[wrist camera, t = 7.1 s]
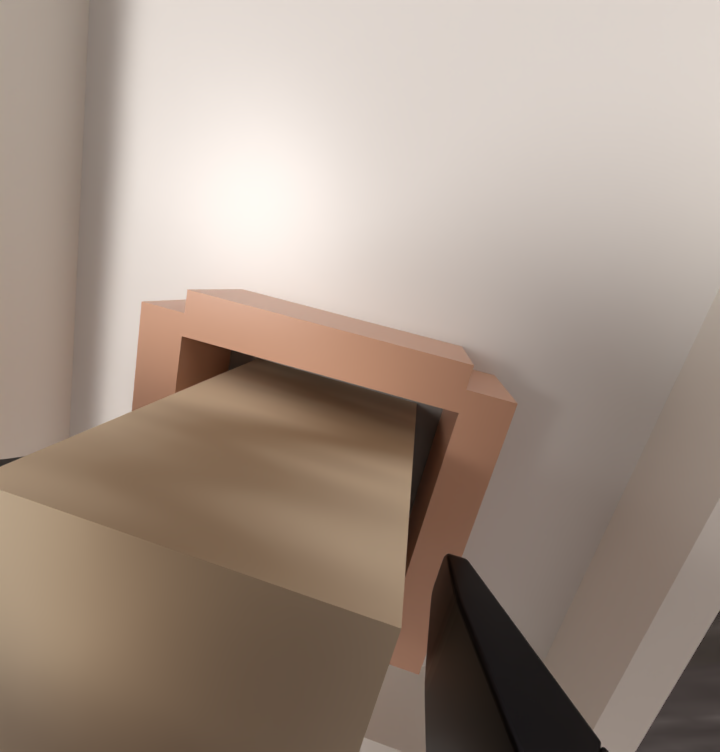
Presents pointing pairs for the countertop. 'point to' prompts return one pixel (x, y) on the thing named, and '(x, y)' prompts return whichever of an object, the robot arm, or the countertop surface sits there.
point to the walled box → (404, 280)
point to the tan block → (208, 571)
